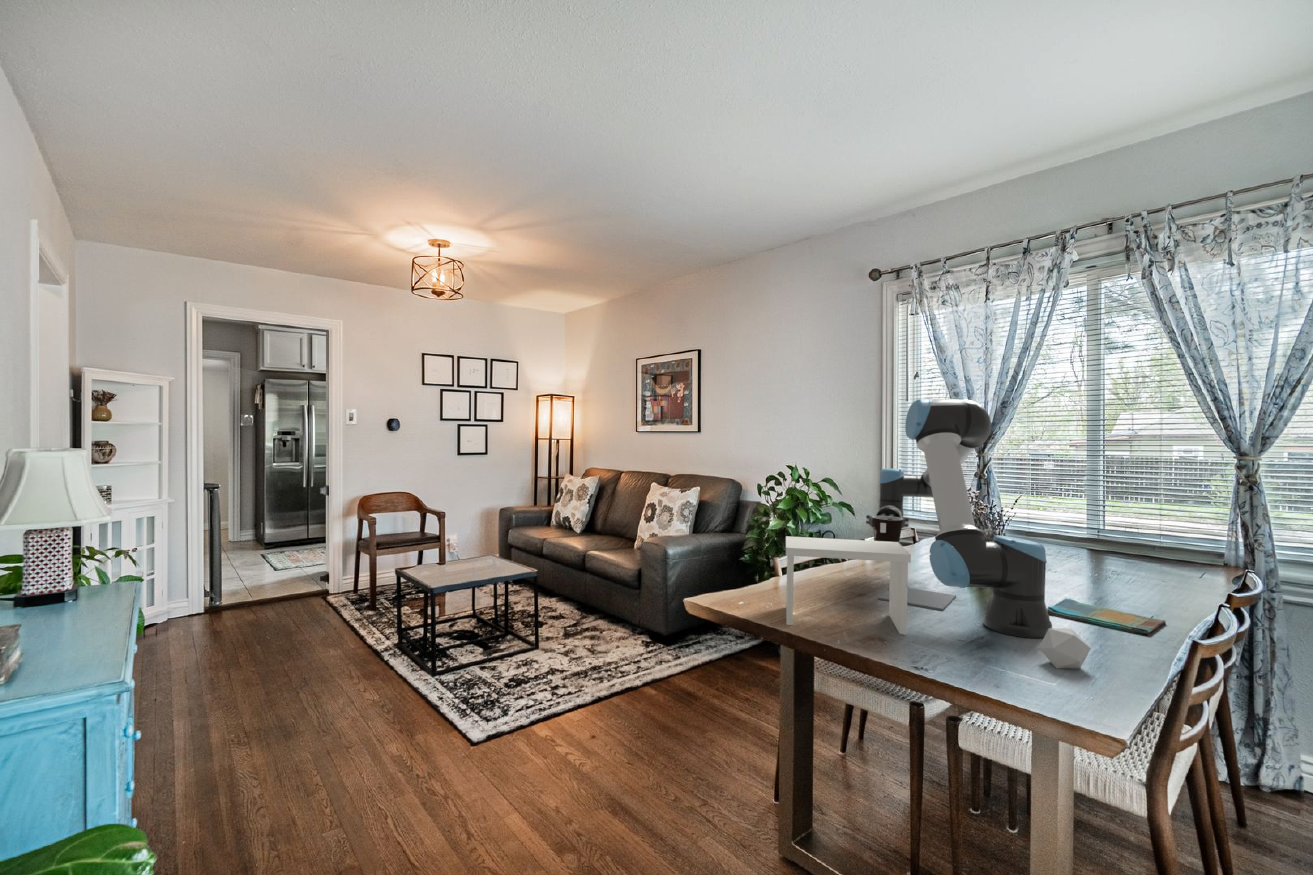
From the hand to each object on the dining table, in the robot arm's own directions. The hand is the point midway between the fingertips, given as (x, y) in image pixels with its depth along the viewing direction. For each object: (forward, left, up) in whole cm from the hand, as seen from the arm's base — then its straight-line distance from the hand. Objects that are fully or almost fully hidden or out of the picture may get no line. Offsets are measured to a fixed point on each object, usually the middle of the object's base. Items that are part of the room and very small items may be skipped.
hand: (883, 527), depth 178 cm
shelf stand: (-11, +21, -22) cm, 33 cm away
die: (-51, -7, -22) cm, 56 cm away
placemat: (+1, -14, -22) cm, 26 cm away
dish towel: (-29, -50, -23) cm, 62 cm away
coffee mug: (+4, -5, -8) cm, 10 cm away
